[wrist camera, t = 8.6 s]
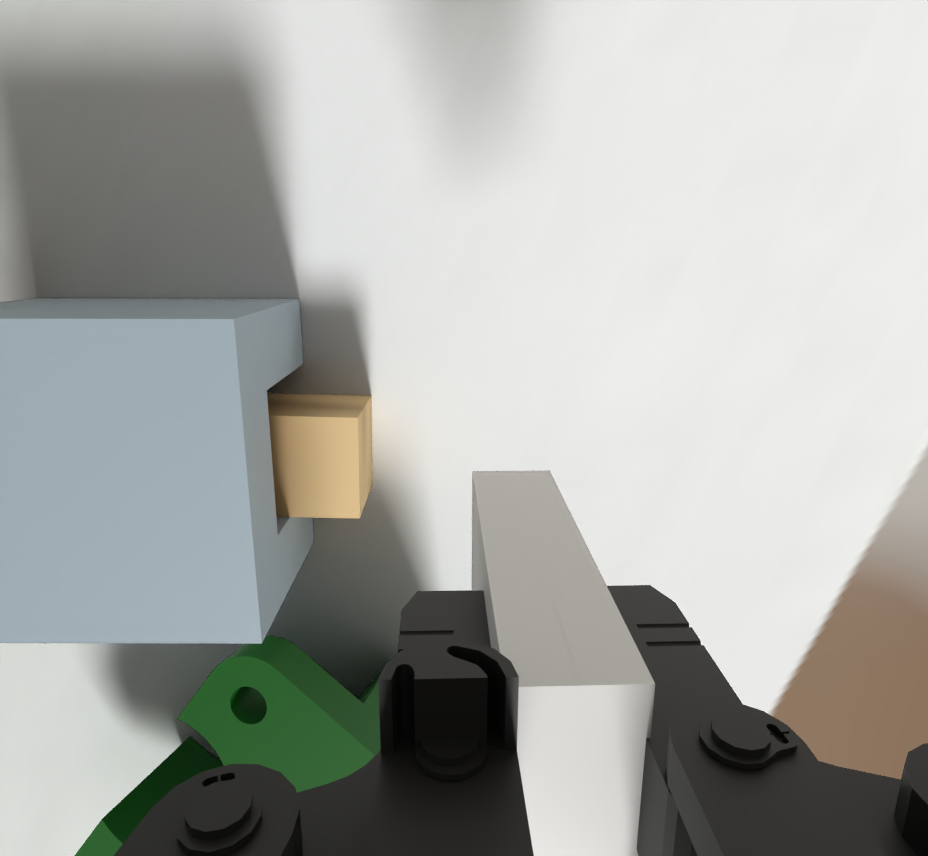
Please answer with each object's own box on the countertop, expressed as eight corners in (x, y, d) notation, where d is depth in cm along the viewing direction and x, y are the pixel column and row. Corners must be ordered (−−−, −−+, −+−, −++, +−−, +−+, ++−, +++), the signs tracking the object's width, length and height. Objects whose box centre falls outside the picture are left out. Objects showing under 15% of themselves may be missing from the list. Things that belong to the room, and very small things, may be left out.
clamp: (328, 578, 28) (281, 585, 19) (440, 674, 27) (446, 726, 18) (118, 830, 25) (-49, 972, 17) (235, 939, 25) (129, 1146, 16)
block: (75, 540, 22) (-61, 642, 17) (35, 298, 20) (-135, 318, 15) (313, 541, 22) (261, 643, 17) (299, 298, 20) (234, 319, 15)
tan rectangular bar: (161, 477, 22) (115, 512, 19) (152, 389, 21) (103, 412, 18) (373, 482, 22) (359, 518, 19) (372, 394, 21) (357, 417, 18)
